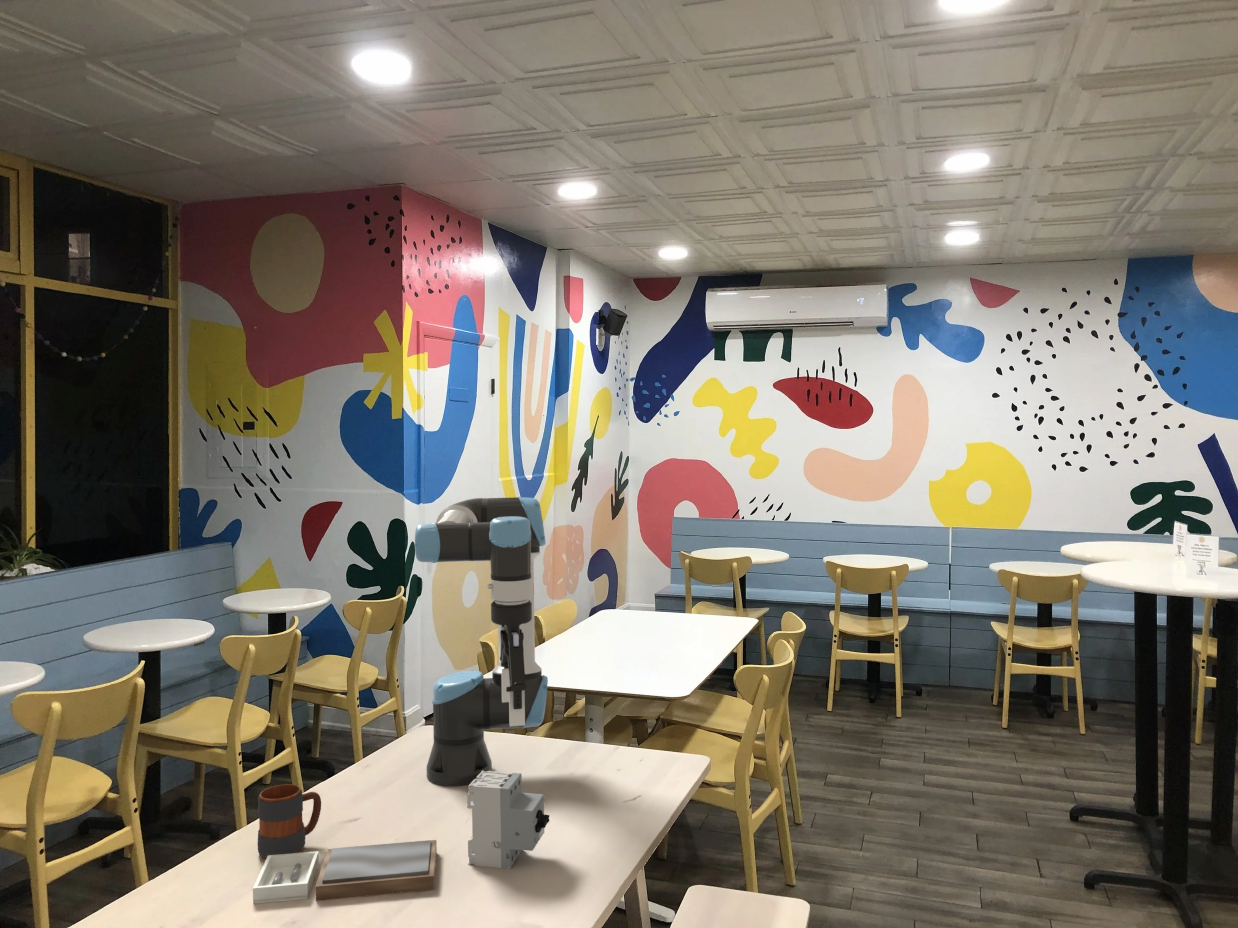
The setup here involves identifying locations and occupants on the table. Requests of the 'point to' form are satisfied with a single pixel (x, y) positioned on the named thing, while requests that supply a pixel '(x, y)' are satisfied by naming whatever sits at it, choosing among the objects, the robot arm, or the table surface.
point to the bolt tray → (286, 877)
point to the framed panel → (377, 870)
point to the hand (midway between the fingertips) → (512, 712)
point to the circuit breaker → (503, 819)
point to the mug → (284, 819)
